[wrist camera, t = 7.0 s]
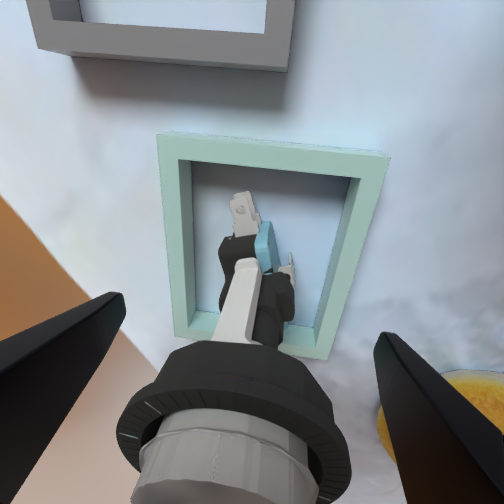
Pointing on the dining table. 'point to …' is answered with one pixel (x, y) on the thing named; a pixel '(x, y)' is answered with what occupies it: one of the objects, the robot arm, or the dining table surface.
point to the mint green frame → (273, 157)
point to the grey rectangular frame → (164, 39)
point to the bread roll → (474, 390)
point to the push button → (238, 398)
